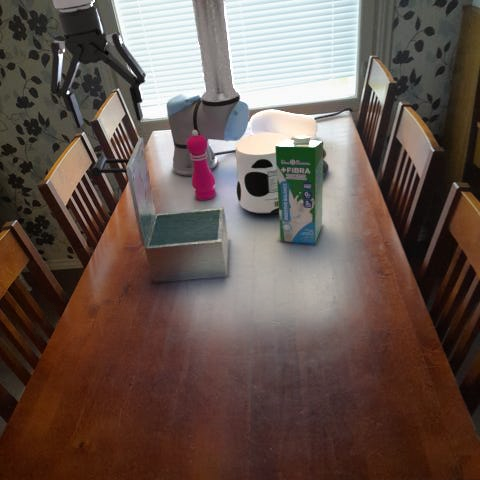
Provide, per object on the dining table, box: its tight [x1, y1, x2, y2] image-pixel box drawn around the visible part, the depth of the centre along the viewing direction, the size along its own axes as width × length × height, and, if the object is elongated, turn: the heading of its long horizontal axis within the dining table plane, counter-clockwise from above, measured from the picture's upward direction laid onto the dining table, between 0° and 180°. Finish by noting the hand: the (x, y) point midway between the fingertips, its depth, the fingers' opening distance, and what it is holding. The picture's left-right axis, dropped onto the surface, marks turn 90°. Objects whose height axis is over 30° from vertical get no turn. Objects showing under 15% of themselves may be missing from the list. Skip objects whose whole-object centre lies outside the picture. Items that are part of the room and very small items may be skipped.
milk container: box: [235, 132, 291, 215], centre depth 127 cm, size 17×17×18 cm
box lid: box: [91, 137, 156, 248], centre depth 103 cm, size 19×16×10 cm
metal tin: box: [144, 207, 229, 283], centre depth 112 cm, size 18×16×10 cm
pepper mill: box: [187, 130, 217, 201], centre depth 135 cm, size 7×7×20 cm
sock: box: [248, 109, 319, 141], centre depth 164 cm, size 25×10×14 cm
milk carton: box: [275, 136, 324, 245], centre depth 111 cm, size 9×9×25 cm
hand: (110, 122), depth 100 cm, fingers open, 13 cm apart
